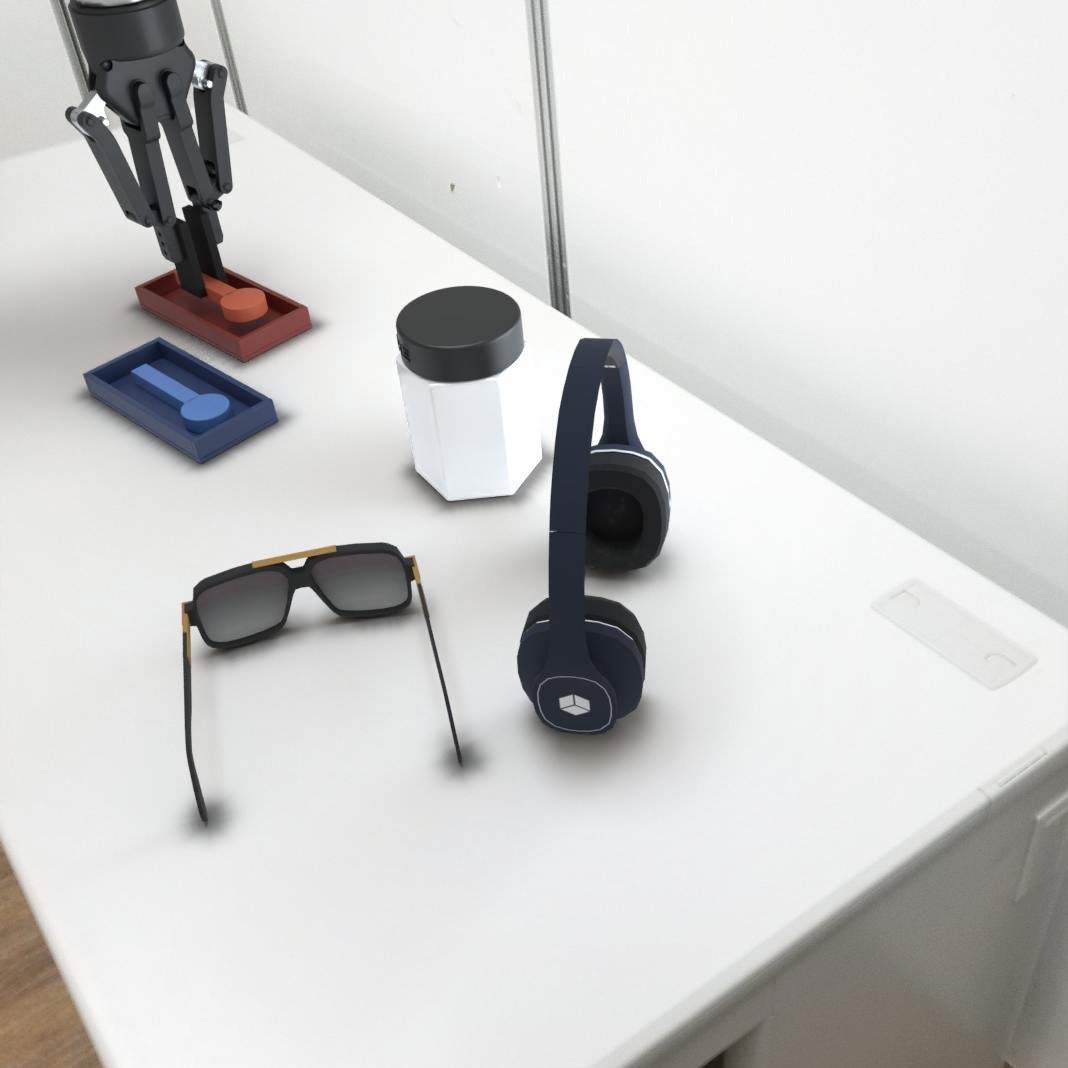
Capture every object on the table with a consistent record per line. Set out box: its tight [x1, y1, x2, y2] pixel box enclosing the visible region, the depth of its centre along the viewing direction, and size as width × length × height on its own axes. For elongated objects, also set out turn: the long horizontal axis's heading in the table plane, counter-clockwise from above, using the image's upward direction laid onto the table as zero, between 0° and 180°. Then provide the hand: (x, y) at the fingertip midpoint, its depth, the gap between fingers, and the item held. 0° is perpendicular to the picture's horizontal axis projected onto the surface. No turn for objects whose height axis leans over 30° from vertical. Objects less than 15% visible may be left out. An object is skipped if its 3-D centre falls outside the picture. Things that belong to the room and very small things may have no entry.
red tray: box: [133, 266, 313, 363], centre depth 105 cm, size 15×7×2 cm, turn 48°
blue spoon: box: [131, 364, 233, 433], centre depth 94 cm, size 11×4×1 cm, turn 48°
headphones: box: [516, 337, 672, 736], centre depth 69 cm, size 20×7×18 cm, turn 172°
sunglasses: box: [181, 541, 463, 823], centre depth 70 cm, size 14×15×5 cm
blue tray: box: [82, 336, 279, 465], centre depth 95 cm, size 15×7×2 cm, turn 48°
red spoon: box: [174, 270, 268, 322], centre depth 104 cm, size 11×4×1 cm, turn 48°
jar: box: [394, 285, 543, 502], centre depth 84 cm, size 9×8×12 cm
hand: (205, 287), depth 105 cm, fingers closed on red spoon
